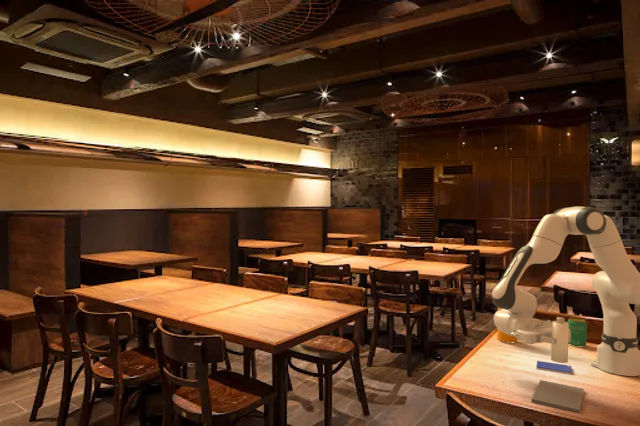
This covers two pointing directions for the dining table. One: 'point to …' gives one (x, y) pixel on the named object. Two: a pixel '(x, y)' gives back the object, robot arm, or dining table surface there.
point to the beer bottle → (505, 335)
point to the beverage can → (578, 331)
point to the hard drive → (554, 367)
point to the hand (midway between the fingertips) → (562, 340)
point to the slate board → (558, 396)
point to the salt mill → (560, 341)
